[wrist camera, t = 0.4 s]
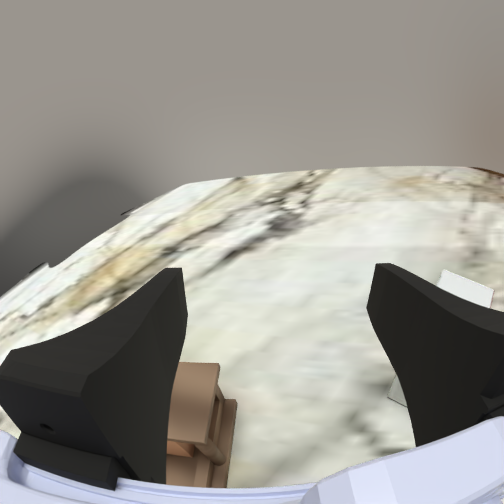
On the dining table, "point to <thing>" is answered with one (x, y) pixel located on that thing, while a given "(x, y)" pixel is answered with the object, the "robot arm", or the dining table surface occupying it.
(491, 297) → the small box
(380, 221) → the dining table surface
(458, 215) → the dining table surface
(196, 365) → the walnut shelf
